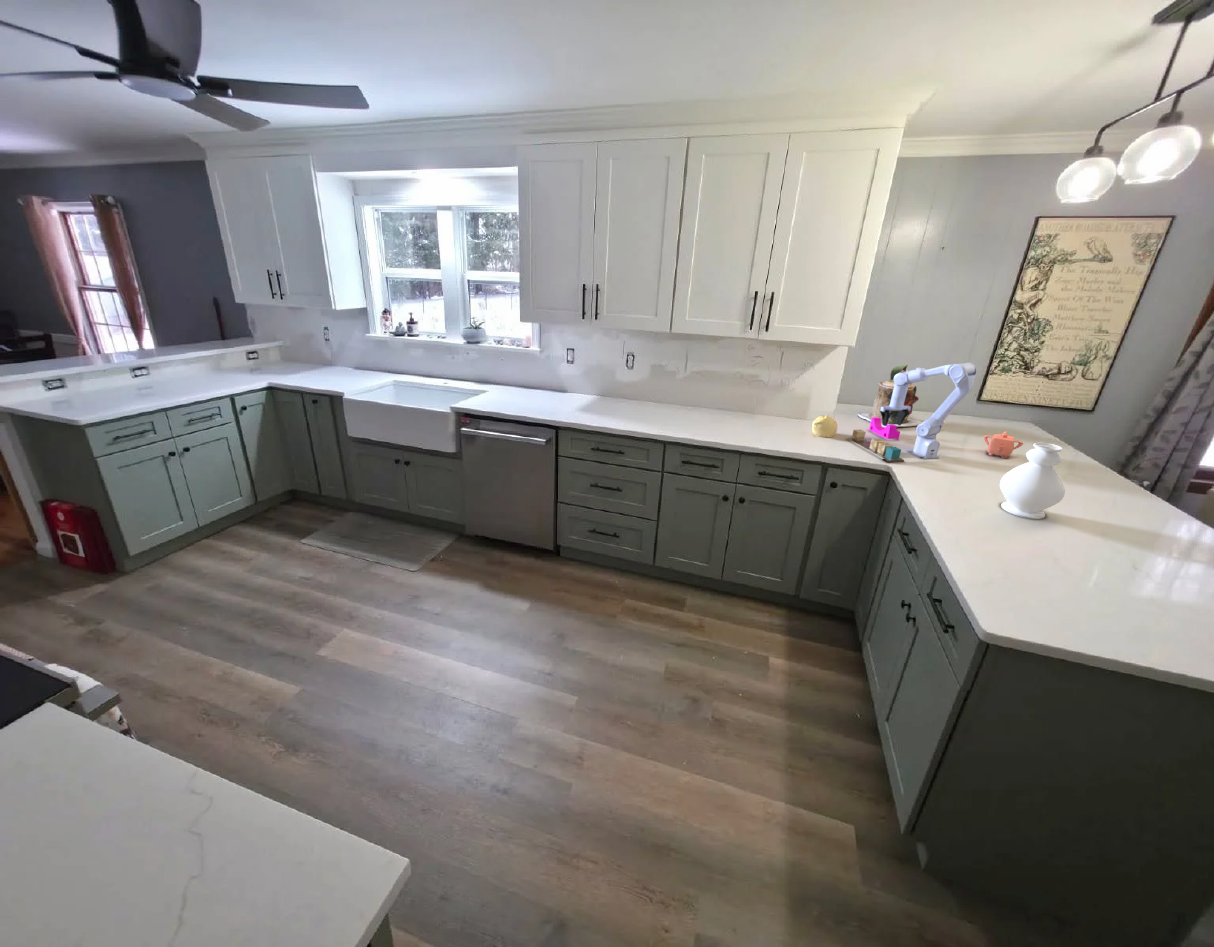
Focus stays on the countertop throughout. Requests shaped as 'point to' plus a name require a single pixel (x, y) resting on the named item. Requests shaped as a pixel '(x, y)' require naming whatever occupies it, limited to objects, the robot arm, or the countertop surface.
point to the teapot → (1001, 444)
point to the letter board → (867, 445)
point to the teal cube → (893, 452)
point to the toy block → (884, 429)
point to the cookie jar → (885, 398)
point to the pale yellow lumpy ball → (824, 426)
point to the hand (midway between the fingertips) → (891, 425)
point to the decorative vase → (1034, 483)
